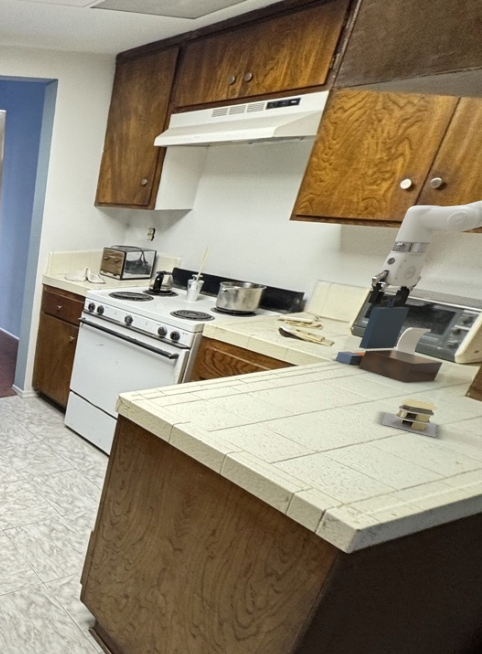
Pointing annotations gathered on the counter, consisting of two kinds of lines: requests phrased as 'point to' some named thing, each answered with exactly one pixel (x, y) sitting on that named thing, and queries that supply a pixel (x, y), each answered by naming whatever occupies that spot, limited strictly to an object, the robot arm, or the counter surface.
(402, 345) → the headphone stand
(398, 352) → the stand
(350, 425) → the counter surface
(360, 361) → the block
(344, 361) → the grey-blue packet
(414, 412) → the stacked layers on plate
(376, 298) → the robot arm
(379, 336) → the blue slab
